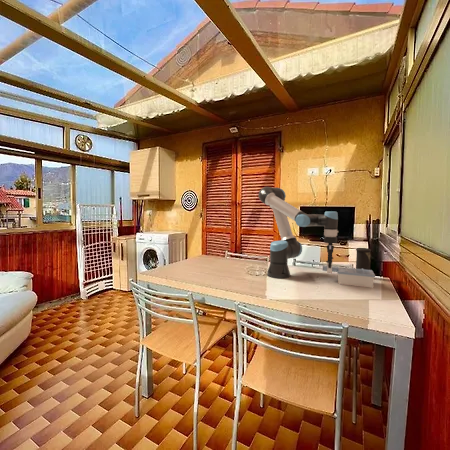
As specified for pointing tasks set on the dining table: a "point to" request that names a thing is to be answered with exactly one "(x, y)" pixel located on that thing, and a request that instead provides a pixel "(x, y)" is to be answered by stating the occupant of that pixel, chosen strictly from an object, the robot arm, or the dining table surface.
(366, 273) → the grey segmented tray
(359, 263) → the container
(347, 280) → the tub
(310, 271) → the dining table surface
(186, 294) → the dining table surface
